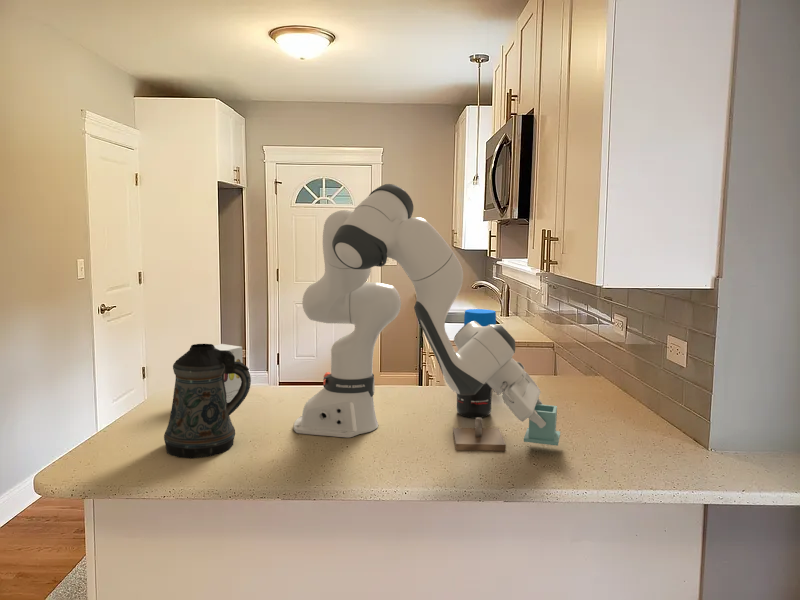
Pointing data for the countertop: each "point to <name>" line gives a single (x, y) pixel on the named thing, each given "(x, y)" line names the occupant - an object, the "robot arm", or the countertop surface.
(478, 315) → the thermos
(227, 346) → the supplement box
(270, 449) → the countertop surface
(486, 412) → the black white cylinder
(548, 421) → the flanged sleeve
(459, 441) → the walnut post base
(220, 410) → the beer stein
